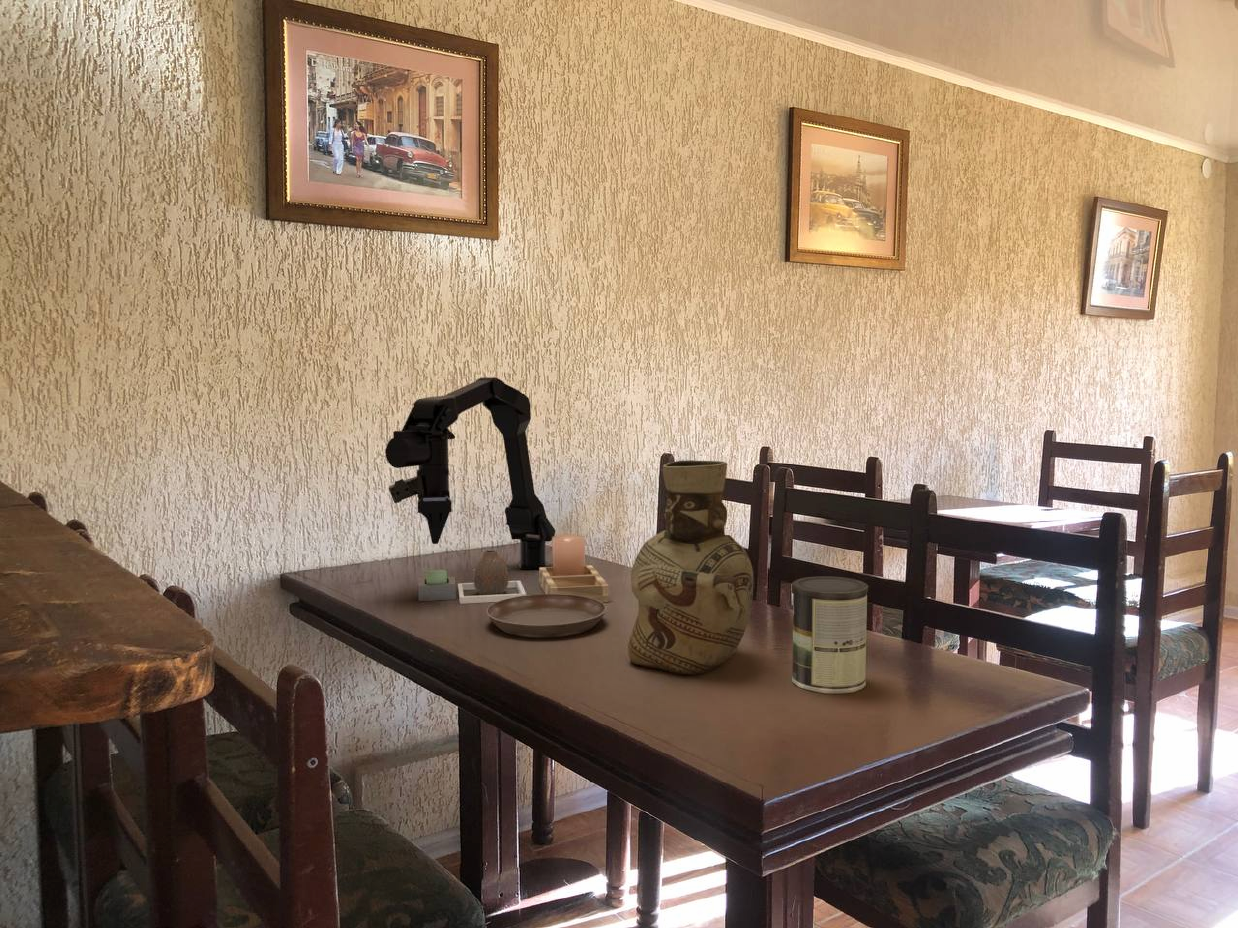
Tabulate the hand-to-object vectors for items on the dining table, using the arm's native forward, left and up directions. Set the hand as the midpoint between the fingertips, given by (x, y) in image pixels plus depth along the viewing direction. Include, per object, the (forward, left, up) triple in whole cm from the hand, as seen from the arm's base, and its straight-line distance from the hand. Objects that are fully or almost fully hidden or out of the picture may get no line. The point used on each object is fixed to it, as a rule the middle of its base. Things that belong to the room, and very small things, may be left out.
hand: (435, 543), depth 192 cm
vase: (+1, +11, -11) cm, 15 cm away
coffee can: (+66, +54, -11) cm, 86 cm away
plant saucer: (+26, +19, -11) cm, 34 cm away
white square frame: (+1, +11, -11) cm, 15 cm away
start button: (0, 0, -10) cm, 10 cm away
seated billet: (-3, +27, -9) cm, 28 cm away
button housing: (0, 0, -11) cm, 11 cm away
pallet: (+2, +27, -10) cm, 29 cm away
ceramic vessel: (+51, +38, -11) cm, 64 cm away
